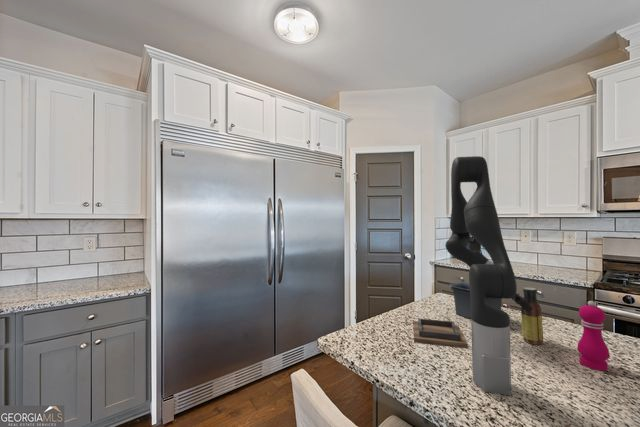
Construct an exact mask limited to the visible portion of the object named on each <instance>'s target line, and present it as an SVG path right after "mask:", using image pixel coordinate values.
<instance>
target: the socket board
mask: <svg viewBox="0 0 640 427" xmlns="http://www.w3.org/2000/svg"><path fill="white" fill-rule="evenodd" d="M412 326H413V342H414V343H420V344H421V343H422V344H430V345H437V346H444V347H445V346H448V347H453V348H454V347H456V348H464V349H468V342H467V340H466V338H465V336H464V334H463V332H462V330H461V328H460V326H459V325H458V324H456V323H455V321H452V320H451V321H450V320H439V319H430V318H429V319H428V318H417V321H416V320H412Z"/></svg>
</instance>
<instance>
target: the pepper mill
mask: <svg viewBox="0 0 640 427" xmlns="http://www.w3.org/2000/svg"><path fill="white" fill-rule="evenodd" d="M578 316H580V318H581V320H580V323H581V326H583V332H582V336H581V337H580V339H579V340H578V341H577V345H576V346H577V347H576V348H577V351H578V353H579V354H580V355H579V363H580V364H581V365H582V366H584V367H587V368H589V369H592V370H597V371H608V369H609V366H608V362H607V360H608V359H609V358H610V350H609V348H608V346H607V344H606V342H605V340H604V338H603V335H602V333H603V332H602V330H603V329H604V323H603V322H604V321H605V320H606V317H607V316H606V313H605V312H604V310H603V309H602V308H600V307H598V306H596V302H595V301H594V300H589V301H587V304H585V305H581V307H579V310H578Z"/></svg>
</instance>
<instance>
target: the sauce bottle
mask: <svg viewBox="0 0 640 427" xmlns="http://www.w3.org/2000/svg"><path fill="white" fill-rule="evenodd" d="M522 290H523V299H524V301H525V302H526V303H527V304H528V305H530V306H531V307H532V310H531V311H529V312H527V311H526V310H525V309H523V308H522V307H521V308H520V316H521V332H522V335H521V336H522V338H523V341H524V342H526V343H528V344H529V345H536V346H540V345H543V344H544V328H543V314H542V308H541V305H540V304H539V302H538V301H537V299H538V298H537V293H538V292H537V288H535V287H528V286H527V287H525V286H524V287H523V288H522Z"/></svg>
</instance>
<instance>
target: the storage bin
mask: <svg viewBox="0 0 640 427" xmlns="http://www.w3.org/2000/svg"><path fill="white" fill-rule="evenodd" d="M449 286H450V290H451V291H453V292H452V293H453V300H454V309H455V313H456V315H457V316H461V317H464V318H467V319H471V298H470V285H469V281H468V282H467V281H466V282H465V281H464V282H463V281H461V282H456V283H450V284H449ZM502 300H503V299H502V298H485V302H486V303H487V304H489V305H490V306H493V307H495V308H498V309H500V310H502V303H503V301H502Z"/></svg>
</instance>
